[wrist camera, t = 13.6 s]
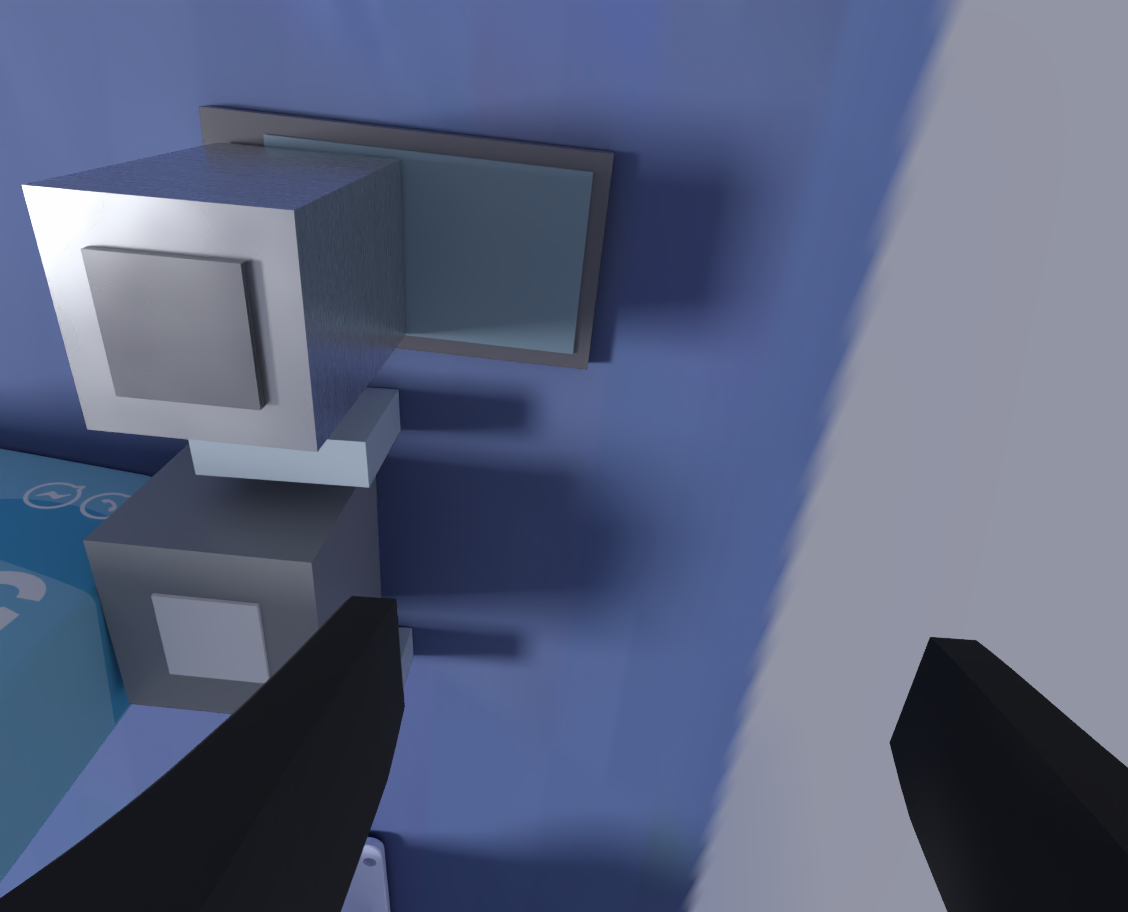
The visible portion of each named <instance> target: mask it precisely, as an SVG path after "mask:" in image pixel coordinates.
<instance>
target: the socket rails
mask: <svg viewBox="0 0 1128 912" xmlns="http://www.w3.org/2000/svg"><path fill="white" fill-rule="evenodd" d="M400 431H401V426H400V409H399V391H398V389H385V388H371V387H366V388H365V390H364V391H363V392H362V394H361V395H360V396H359V398H358V399H357V400H356V402H355V403H354V404H353V406H352V407H351V408H350V410H349V411H348V412H347V414H346V415H345V416H344V418H343V419H342V420H341V422H340V423H339V424H338V426H337V427H336V428H335V430H334V431H333V432H332V434H331V435H330V436H329V438H328V439H327V440H326V442H325V443H324V444H323V446H322V447H321V448H320V450H319V451H318V452H311V451H301V450H291V449H281V448H270V447H260V446H250V445H240V444H230V443H220V442H210V441H199V440H189V439H188V441H189V446H190V450H191V455H192V460H193V464H194V469H195V474H196V475H208V476H221V477H234V478H248V479H261V480H274V481H288V482H301V483H314V484H328V485H341V486H354V487H368V488H369V487H370V485H371V483H372V481H373V480H374V478H375V476H376V474H377V472H378V471H379V469H380V467H381V465H382V463H383V462H384V460H385V458H386V456H387V454H388V453H389V451H390V449H391V447H392V445H393V443H394V442H395V440H396V438H397V436H398V434H399V433H400ZM398 628H399V641H400V654H401V667H402V679H403V687H404V684H405V681H406V678H407V675H408V672H409V669H410V666H411V663H412V659H413V638H412V628H405V627H398Z"/></svg>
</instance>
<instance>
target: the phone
mask: <svg viewBox="0 0 1128 912" xmlns="http://www.w3.org/2000/svg"><path fill="white" fill-rule="evenodd" d="M199 112H200V120H201V128H202V136H203V144H204V145H208V144H213V143H217V142H220V143H231V144H242V145H252V146H263V147H274V148H285V149H296V150H307V151H317V152H328V153H339V154H350V155H361V156H372V157H383V158H393V159H400V161H401V196H402V230H403V265H404V300H405V336H404V338H403V339H402V340H401V342H400V343H399V344H398V346H397V347H396V348H401V349H409V350H418V351H427V352H436V353H445V354H453V355H462V356H471V357H480V358H488V359H497V360H506V361H515V362H523V363H532V364H541V365H550V366H559V367H567V368H576V369H585V370H587V368H588V360H589V352H590V344H591V336H592V328H593V320H594V312H595V303H596V295H597V287H598V279H599V271H600V263H601V255H602V247H603V239H604V231H605V223H606V215H607V207H608V199H609V191H610V183H611V175H612V167H613V159H614V152H611V151H603V150H594V149H585V148H576V147H568V146H559V145H550V144H542V143H533V142H524V141H515V140H507V139H498V138H489V137H480V136H472V135H463V134H454V133H446V132H437V131H428V130H419V129H411V128H402V127H393V126H384V125H376V124H367V123H358V122H350V121H341V120H332V119H323V118H315V117H306V116H297V115H288V114H280V113H271V112H262V111H254V110H245V109H236V108H227V107H219V106H210V105H208V106H199Z"/></svg>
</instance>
